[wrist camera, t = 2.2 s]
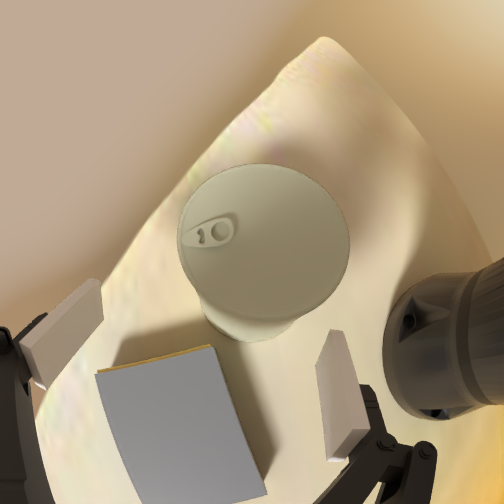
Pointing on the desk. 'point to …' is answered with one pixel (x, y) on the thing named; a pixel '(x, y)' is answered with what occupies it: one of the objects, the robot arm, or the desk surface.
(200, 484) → the block
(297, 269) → the can
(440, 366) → the robot arm
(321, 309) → the desk surface
